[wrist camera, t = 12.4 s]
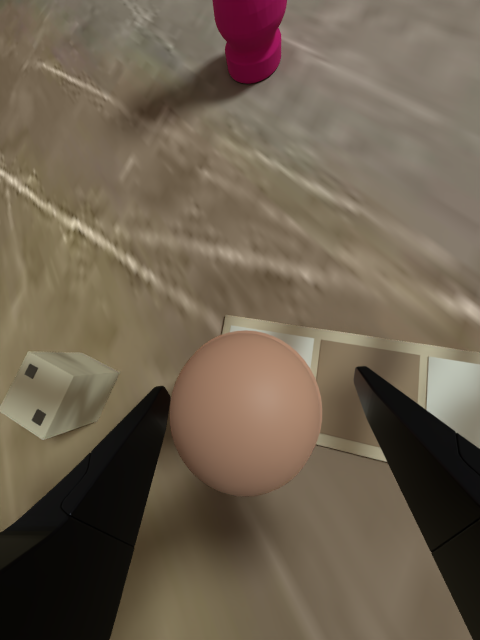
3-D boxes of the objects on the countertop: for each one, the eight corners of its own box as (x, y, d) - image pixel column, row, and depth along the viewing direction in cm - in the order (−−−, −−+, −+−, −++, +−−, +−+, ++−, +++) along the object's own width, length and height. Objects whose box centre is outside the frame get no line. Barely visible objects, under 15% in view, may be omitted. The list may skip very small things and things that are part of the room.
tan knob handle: (295, 418, 17) (378, 664, 3) (225, 403, 18) (70, 543, 4) (303, 344, 18) (395, 304, 4) (236, 335, 19) (135, 277, 5)
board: (552, 364, 15) (559, 364, 15) (558, 502, 14) (565, 506, 14) (226, 315, 20) (225, 314, 20) (207, 415, 19) (206, 417, 18)
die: (98, 420, 20) (42, 440, 16) (60, 398, 22) (-3, 410, 17) (120, 371, 21) (73, 376, 16) (82, 352, 22) (27, 351, 17)
